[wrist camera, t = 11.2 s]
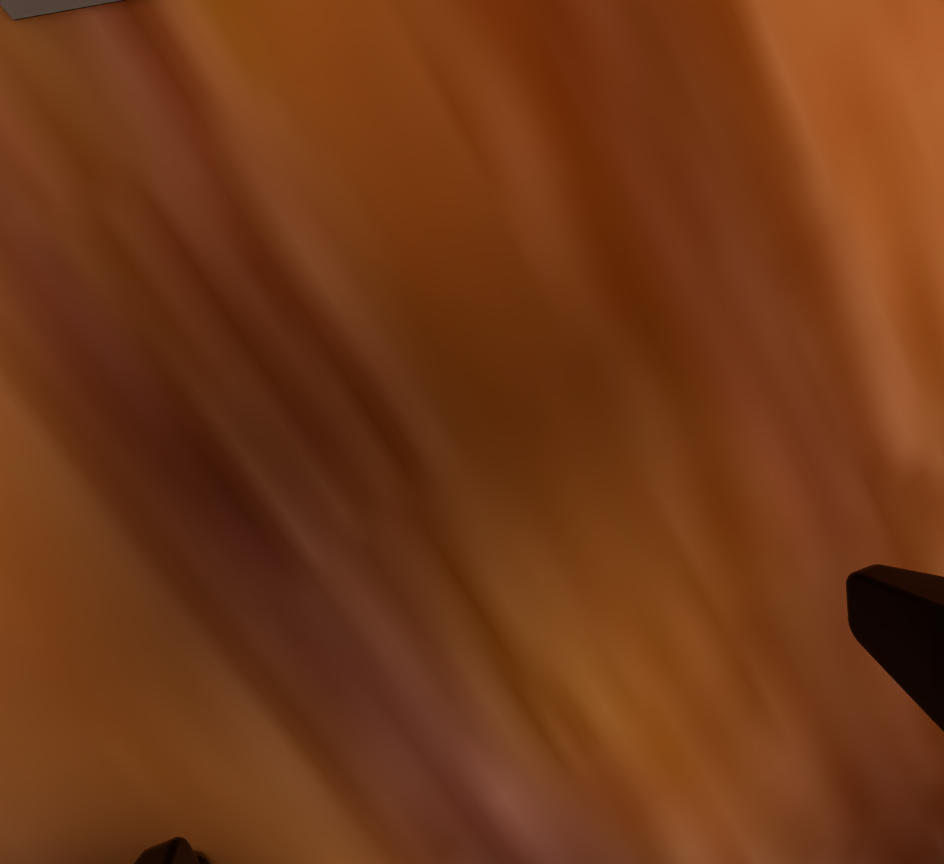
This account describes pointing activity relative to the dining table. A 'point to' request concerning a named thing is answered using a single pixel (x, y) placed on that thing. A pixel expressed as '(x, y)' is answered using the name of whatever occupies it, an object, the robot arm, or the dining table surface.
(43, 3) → the peg stand
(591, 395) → the dining table surface
